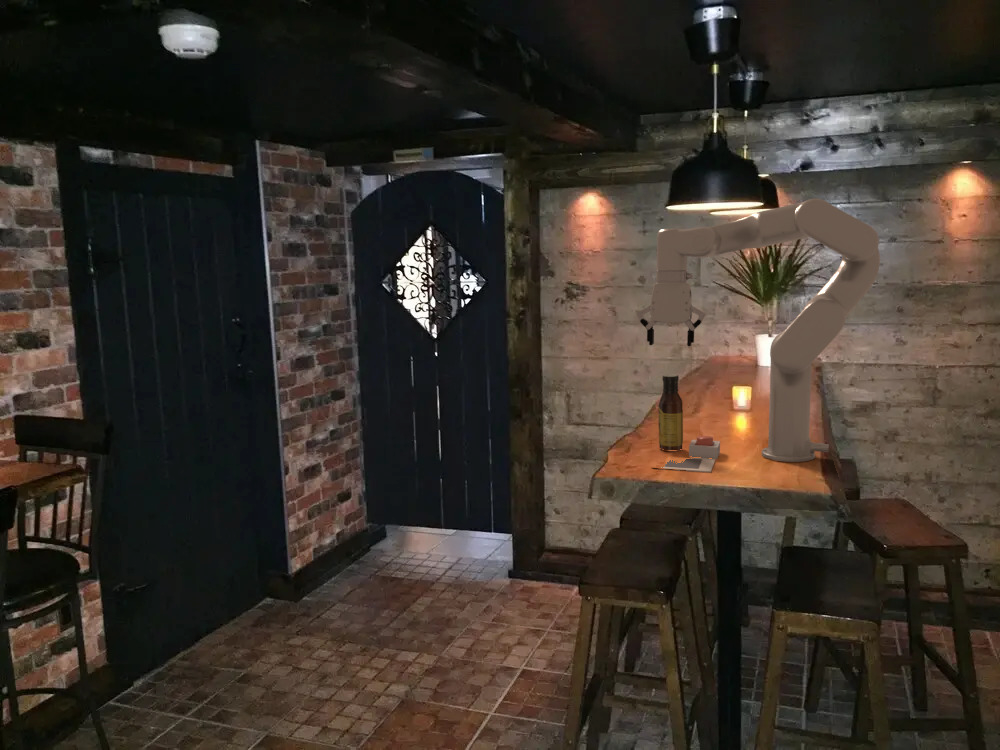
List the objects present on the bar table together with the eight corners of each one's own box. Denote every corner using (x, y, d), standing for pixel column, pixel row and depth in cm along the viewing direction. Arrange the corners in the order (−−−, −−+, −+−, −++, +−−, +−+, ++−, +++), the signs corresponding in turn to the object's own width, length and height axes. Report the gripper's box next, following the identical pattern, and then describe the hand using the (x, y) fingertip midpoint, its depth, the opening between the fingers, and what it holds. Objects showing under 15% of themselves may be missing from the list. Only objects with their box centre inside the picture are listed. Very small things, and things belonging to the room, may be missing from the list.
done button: (713, 447, 211) (713, 436, 210) (712, 451, 207) (712, 439, 207) (697, 447, 212) (697, 435, 212) (695, 450, 208) (695, 438, 208)
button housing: (719, 452, 212) (720, 441, 212) (717, 459, 205) (717, 447, 205) (692, 451, 214) (692, 439, 214) (688, 457, 208) (689, 445, 207)
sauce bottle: (665, 445, 221) (666, 372, 218) (687, 449, 217) (688, 373, 214) (653, 450, 216) (654, 375, 213) (675, 453, 212) (676, 377, 209)
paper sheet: (715, 460, 205) (715, 458, 205) (710, 472, 194) (710, 470, 193) (658, 456, 209) (658, 455, 209) (650, 468, 198) (650, 467, 198)
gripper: (708, 277, 210) (706, 344, 213) (639, 277, 216) (639, 342, 219) (705, 278, 203) (703, 347, 206) (634, 278, 209) (634, 345, 212)
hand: (670, 345), depth 212 cm, fingers open, 9 cm apart
